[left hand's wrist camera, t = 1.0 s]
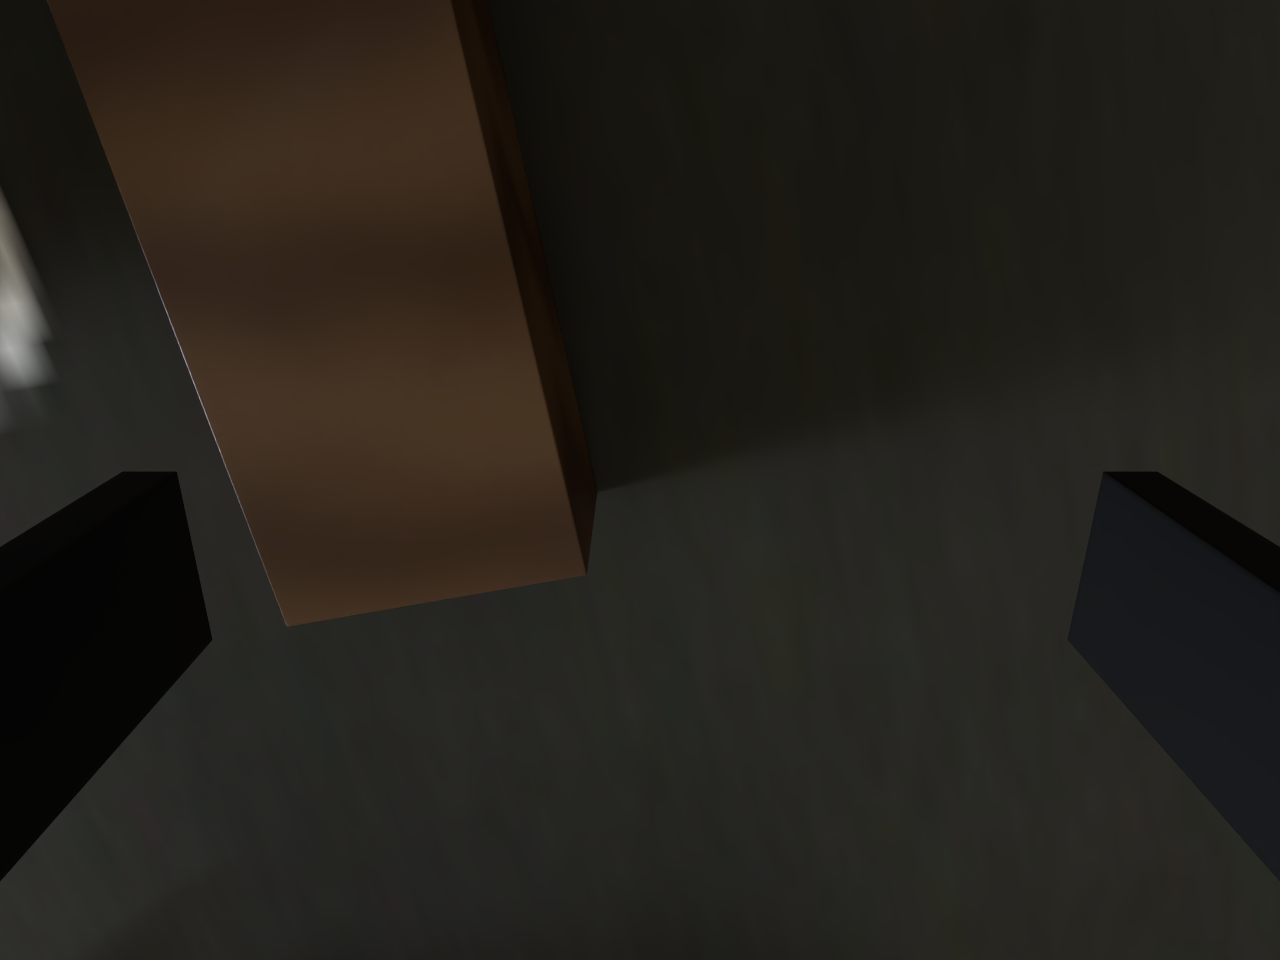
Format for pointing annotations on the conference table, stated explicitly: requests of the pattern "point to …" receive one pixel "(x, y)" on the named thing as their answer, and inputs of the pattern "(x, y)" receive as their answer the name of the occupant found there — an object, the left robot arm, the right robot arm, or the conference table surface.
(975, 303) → the conference table surface
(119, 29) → the wooden beam
